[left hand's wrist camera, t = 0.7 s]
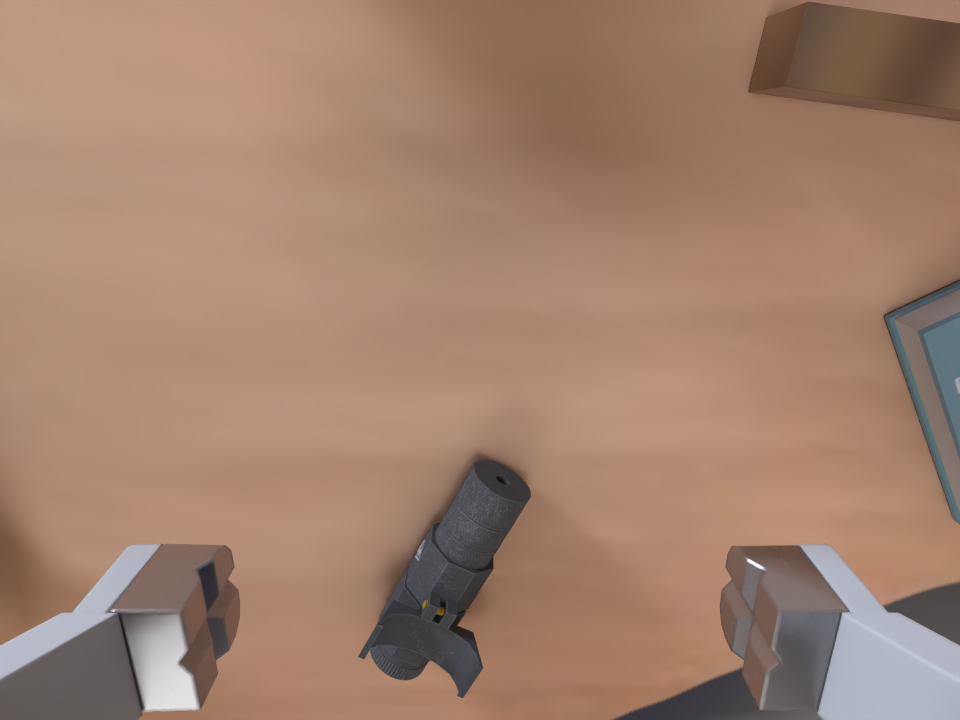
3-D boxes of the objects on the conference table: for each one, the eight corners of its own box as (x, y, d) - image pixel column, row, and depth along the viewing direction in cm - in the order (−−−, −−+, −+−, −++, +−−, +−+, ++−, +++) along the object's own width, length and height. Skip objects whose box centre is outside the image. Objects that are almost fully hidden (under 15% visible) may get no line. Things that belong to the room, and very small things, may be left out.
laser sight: (548, 484, 59) (561, 551, 49) (440, 654, 66) (433, 742, 56) (453, 440, 57) (448, 501, 48) (352, 619, 64) (330, 703, 55)
